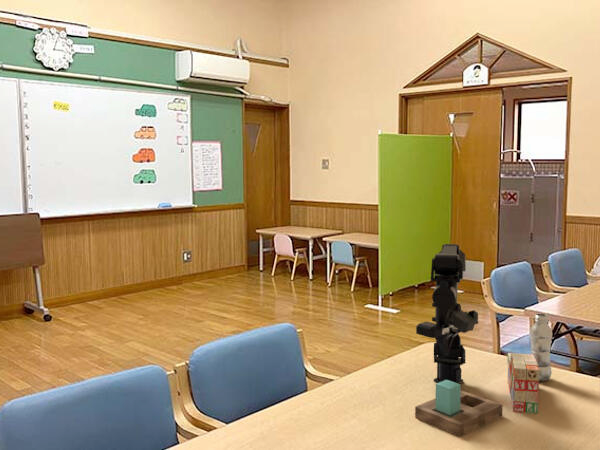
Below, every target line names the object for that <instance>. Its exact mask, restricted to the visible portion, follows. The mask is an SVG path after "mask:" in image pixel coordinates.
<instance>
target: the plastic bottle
mask: <svg viewBox="0 0 600 450" xmlns="http://www.w3.org/2000/svg"><path fill="white" fill-rule="evenodd" d="M548 323H549V315H548V314H546V313H535V314H534V323H533V324H532V326H531V328H530V329H529V336H530V337H529V338H530V347H531V350H530V354H533V355H534V357H535V359H536V362H537V364H538V368H539V382H545V381H549V380H550V379H551V377H552V365H551V345H552V338H553V331H552V328H551V327H550V325H549V324H548Z"/></svg>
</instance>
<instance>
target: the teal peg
mask: <svg viewBox="0 0 600 450" xmlns="http://www.w3.org/2000/svg"><path fill="white" fill-rule="evenodd" d="M461 389H462V386H461V383H459V384H458V383H455V382H452V381H449V380H444V381H442V382H436V383H435V398H436V409H435V411H436V412H438V413H440V414H443V415H445V416H447V417H450V418H451V417H453V416H455V415H457V414H460V412H461V410H460V401H461Z"/></svg>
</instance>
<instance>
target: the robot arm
mask: <svg viewBox="0 0 600 450" xmlns="http://www.w3.org/2000/svg"><path fill="white" fill-rule="evenodd" d="M466 266H467V261H466V254H465V252H463V251H462V250H461V249H460V245H459V244H456V243H445V244H442V246H441V250H440V251H439V252H438V253H436V254H435V255H434V257H433V258H432V259H431V271H430V282H435V288H434V290H433V292H432V295H431V296H432V297H431V299H432V303H431V307H434V308H435V309H434V310H435V312H434V313H435V316H433V317H432V318H431V321H432V322H430V321H423V322H419V323H418V324H416V326H415V332H416V333H415V334H417V335H420V336H423V337H427V338H431V339H435V341H436V342H434V343H433V363H434V364H437V365H436V377H435V378H433V381H434V382H436V383H439V382H442V381H444V380H449V381H452V382H455V383H458V384H461V383H463V382H464V379H462V368H461V366H463V365H465V364H466V349H465V348H464V344H462V339H461V337H460V335H459V334H460V333H468V332H471V331H473V330H474V328H475V325H478V324H479V321H478V320H479V313H478V312H477V311H476V310H474V309H473V310H469V311H463V310H462V305H461V303H458V285H459V284H461V281H462V280H463V279H464V272H466V270H467V269H466V268H467V267H466Z"/></svg>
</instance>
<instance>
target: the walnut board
mask: <svg viewBox="0 0 600 450" xmlns="http://www.w3.org/2000/svg"><path fill="white" fill-rule="evenodd" d="M414 409H415V410H414V411H415V413H414V415H415V416H414V418H415V419H417V420H420V421H422V422H425V423H427V424H429V425H431V426H433V427H436V428H439V429H441V430H443V431H446V432H448V433H451V434H453V435H455V436H456V437H458V438H459V437H463V436H464V435H467V434H469V433H470V432H472V431H475V430H476V429H479V428H480V427H482V426H485V425H486V424H489V423H491V422H492V421H495V420H497V419H499V418H501V417H503V404H501V403H498V402H496V401H492V400H490V399H487V398H484V397H481V396H479V395H476V394H472V393H470V392H467V391H465V390H461V401H460V410H461V412H460V414H457V415H455V416H453V417H451V418H450V417H447V416H445V415H443V414H440V413H438V412H436V411H435V409H436V397H435V398H433V399H430V400H428V401H425V402H423V403H421V404H418V405H416V406H415V408H414Z"/></svg>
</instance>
